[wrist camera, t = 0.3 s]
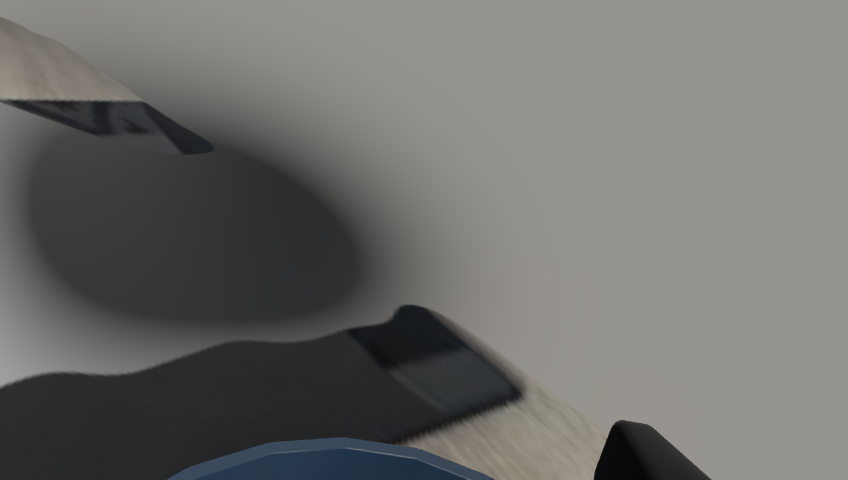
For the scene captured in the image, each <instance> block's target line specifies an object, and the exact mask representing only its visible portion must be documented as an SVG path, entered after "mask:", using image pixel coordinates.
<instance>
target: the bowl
mask: <svg viewBox="0 0 848 480" xmlns="http://www.w3.org/2000/svg"><path fill="white" fill-rule="evenodd" d="M167 480H494V479H493V478H491V477H490V478H489V476H487V475H485V474H482V473H480V472H477V471H475V470H472V469H470V468H467V467H464V466H462V465H459V464H457V463H454V462H452V461H449V460H447V459H444V458H442V457H439V456H436V455H434V454H431V453H429V452H426V451H424V450H421V449H419V450H418V449H417V448H412V447H405V446H399V445H392V444H386V443H379V442H373V441H366V440H360V439H353V438H347V437H346V438H344V437H337V438H323V439H309V440H295V441H281V442H269V443H268V444H267V443H265V444H262V445H259V446H255V447H252V448H249V449H246V450H242V451H239V452H236V453H233V454H229V455H226V456H223V457H219V458H216V459H213V460H210V461H206V462H203V463H200V464H197V465H193V466H190V467H189V468H186V469H184V470H182V471H181V472H179V473H177V474H175V475H174V476H172V477H170V478H168V479H167Z"/></svg>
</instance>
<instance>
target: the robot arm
mask: <svg viewBox="0 0 848 480" xmlns="http://www.w3.org/2000/svg"><path fill="white" fill-rule="evenodd" d="M594 480H711V479H710V478H709V477H708V476H707V475H705V474H704V473H703V472H702V471H701V470H700V469H699V468H698V467H697V466H695V465H694V464H693V463H692V462H691V461H690V460H689V459H687V458H686V457H685V456H684V455H683V454H682V453H681V452H680V451H678V450H677V449H676V448H675V447H674V446H673V445H672V444H671V443H669V442H668V441H667V440H666V439H665V438H664V437H663V436H661V435H660V434H659V433H658V432H657V431H656V430H655V429H654V428H652V427H651V426H649V425H647V424H642V423H636V422H630V421H624V420H620V421H617V422H615V424H614V425H613V426H612V428H611V430H610V432H609V435H608V438H607V440H606V443H605V446H604V448H603V451H602V454H601V456H600V459H599V461H598V464H597V467H596V470H595V474H594Z"/></svg>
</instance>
